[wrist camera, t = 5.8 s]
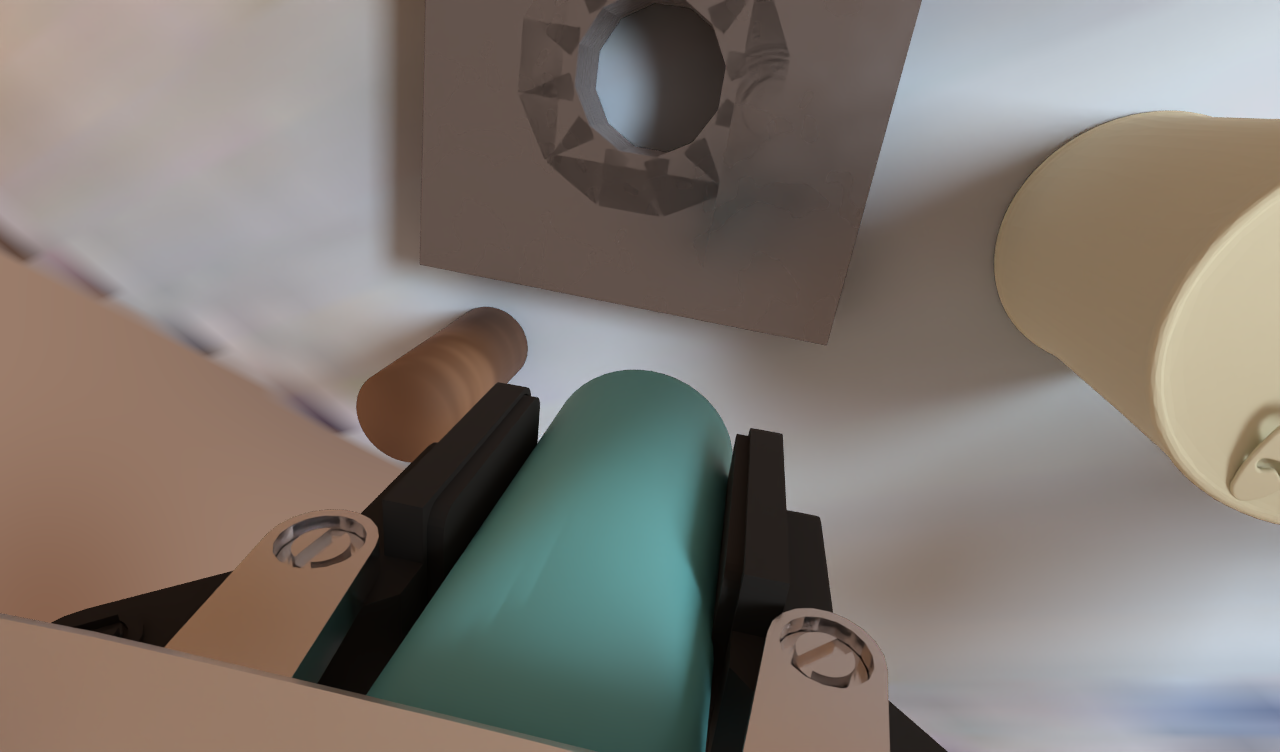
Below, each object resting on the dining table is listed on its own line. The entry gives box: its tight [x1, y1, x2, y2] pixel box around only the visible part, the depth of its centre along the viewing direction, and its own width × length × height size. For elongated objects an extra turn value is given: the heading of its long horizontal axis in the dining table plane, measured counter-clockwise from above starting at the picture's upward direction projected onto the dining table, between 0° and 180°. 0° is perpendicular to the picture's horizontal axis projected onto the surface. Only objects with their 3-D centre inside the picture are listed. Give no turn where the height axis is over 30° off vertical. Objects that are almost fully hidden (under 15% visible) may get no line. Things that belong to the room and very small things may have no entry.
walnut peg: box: [356, 307, 528, 462], centre depth 27 cm, size 4×4×8 cm
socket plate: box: [420, 0, 922, 345], centre depth 24 cm, size 16×16×3 cm
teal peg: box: [366, 370, 732, 752], centre depth 9 cm, size 4×4×8 cm
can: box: [994, 111, 1280, 525], centre depth 19 cm, size 9×9×12 cm
